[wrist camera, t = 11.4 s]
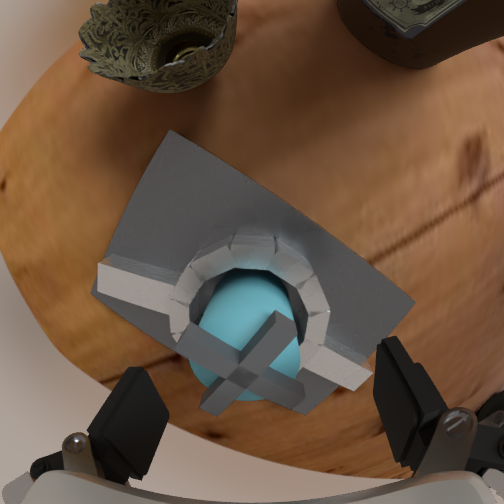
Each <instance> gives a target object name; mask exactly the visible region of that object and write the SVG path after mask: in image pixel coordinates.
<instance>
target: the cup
mask: <svg viewBox="0 0 504 504" xmlns="http://www.w3.org/2000/svg"><path fill="white" fill-rule="evenodd" d="M237 2H238V0H110V2H109V3H108V4H107V5H103V4H102V3H100V2H98V3H96V4H94V5H93V6H92V7H91V8H90V13H91V16H92V18H91V19H89V20H87V21H86V22H85V23H84V24H83V25H82V27H81V28H80V29H79V36H80V39H81V41H82V43H83V44H84V46H85V50H84V48H83V49H82V51H81V52H80V53H79V55H80V57H81V58H83V59H85V60H87V61H89V62H91V63H90V65H89V66H88V69H89V70H90V71H91V72H93V73H95V74H99V76H102V77H105V78H108V79H112V80H115V81H118V82H121V83H124V84H127V85H130V86H133V87H136V88H139V89H143V90H146V91H150V92H156V93H179V92H183V91H187V90H190V89H193V88H195V87H198V86H200V85H202V84H204V83H205V82H207V81H208V80H210V79H211V78H212V77H214V76H215V75H216V74H217V73H218V72H219V71H220V70H221V69H222V68H223V66H224V65H225V64H226V62H227V60H228V59H229V56H230V54H231V52H232V49H233V46H234V42H235V36H236V25H237Z"/></svg>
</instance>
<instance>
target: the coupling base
mask: <svg viewBox="0 0 504 504" xmlns="http://www.w3.org/2000/svg"><path fill="white" fill-rule="evenodd" d="M239 269H259V270H264V271H267V272H269V273H271V274H273V275H274V276H275V277H277V278H278V279H279V280H280V281H281V282H282V283H283V285H284V286H285V288H286V289H287V292H288V294H289V298H290V303H291V309H292V314H293V319H294V321H295V324H296V329H297V334H298V335H297V340H298V345H299V351H300V359H301V362H300V368H299V371H298V374H297V376H296V378H295V380H297V381H299V382H301V383H303V384H304V391H305V397H306V398H305V399H304V400H303V401H302V402H300V403H299V404H298V405H297V406H296V407H295V408H293V409H292V410H293V411H296V412H298V413H301V414H304V415H306V414H307V413H309V412H310V411H311V410H312V409H314V408H315V407H316V406H317V405H318V404H319V403H321V402H322V401H323V400H324V399H325V398H326V397H328V396H329V395H330V394H331V393H332V392H333V391H334V390H335V389H336V388H338V387H339V386H340V385H341V386H343V387H346V388H348V389H350V390H352V391H355V390H356V389H357V388H358V387H359V386H360V385H361V384H362V383H363V382H364V381H365V380H366V379H367V378H369V377H370V376H371V375H372V374H373V371H372V369H371V367H370V365H369V363H368V361H367V358H368V357H369V356H370V355H371V354H372V353H373V352H374V351H375V350H376V349H377V344H380V343H381V340H382V339H384V338H387V337H388V335H389V334H390V333H391V332H392V331H393V330H394V328H395V327H396V326H397V325H398V324H399V323H400V321H401V320H402V319H403V318H404V317H405V315H406V314H407V313H408V312H409V310H410V309H411V308H412V307H413V305H414V304H415V303H416V302H415V301H414V300H413V299H412V298H411V297H409V296H408V295H407V294H406V293H405V292H404V291H403V290H401V289H400V288H399V287H398V286H397V285H395V284H394V283H393V282H392V281H391V280H389V279H388V278H387V277H386V276H384V275H383V274H382V273H381V272H379V271H378V270H377V269H376V268H374V267H373V266H372V265H371V264H369V263H368V262H367V261H366V260H364V259H363V258H362V257H360V256H359V255H358V254H357V253H355V252H354V251H353V250H351V249H350V248H349V247H347V246H346V245H345V244H344V243H342V242H341V241H340V240H338V239H337V238H336V237H334V236H333V235H332V234H330V233H329V232H327V231H326V230H325V229H323V228H322V227H321V226H319V225H318V224H317V223H315V222H314V221H312V220H311V219H310V218H308V217H307V216H305V215H304V214H303V213H301V212H300V211H298V210H297V209H295V208H294V207H293V206H291V205H290V204H288V203H287V202H285V201H284V200H283V199H281V198H280V197H278V196H277V195H275V194H274V193H272V192H271V191H269V190H268V189H266V188H265V187H263V186H262V185H260V184H259V183H257V182H256V181H254V180H253V179H251V178H250V177H248V176H247V175H245V174H244V173H242V172H240V171H239V170H237V169H236V168H234V167H233V166H231V165H229V164H228V163H226V162H225V161H223V160H222V159H220V158H218V157H217V156H215V155H213V154H212V153H210V152H209V151H207V150H205V149H204V148H202V147H200V146H199V145H197V144H195V143H194V142H192V141H190V140H189V139H187V138H185V137H184V136H182V135H180V134H178V133H177V132H174V131H172V130H169V131H168V133H167V135H166V136H165V138H164V140H163V141H162V143H161V144H160V146H159V148H158V149H157V151H156V153H155V155H154V156H153V158H152V160H151V161H150V163H149V165H148V167H147V169H146V170H145V172H144V174H143V176H142V178H141V180H140V181H139V183H138V185H137V187H136V189H135V191H134V193H133V195H132V197H131V199H130V201H129V203H128V205H127V207H126V209H125V211H124V213H123V215H122V217H121V220H120V222H119V224H118V226H117V228H116V230H115V233H114V235H113V237H112V240H111V242H110V244H109V247H108V249H107V251H106V254H105V256H104V259H103V260H102V261H100V262H98V274H97V277H96V280H95V282H94V285H93V288H92V291H91V294H92V295H93V296H94V297H96V298H97V299H98V300H100V301H101V302H102V303H104V304H105V305H106V306H108V307H109V308H110V309H112V310H113V311H114V312H116V313H117V314H118V315H120V316H121V317H123V318H124V319H126V320H127V321H128V322H130V323H131V324H133V325H134V326H136V327H137V328H139V329H140V330H142V331H143V332H145V333H146V334H148V335H149V336H151V337H152V338H154V339H155V340H157V341H158V342H160V343H162V344H163V345H165V346H166V347H168V348H170V349H171V350H173V351H175V350H174V348H175V346H176V344H177V342H178V340H179V338H180V336H181V335H182V333H183V332H184V330H185V329H186V327H187V326H188V324H189V323H190V321H191V322H192V323H194V324H196V325H197V326H199V323H200V321H201V319H202V317H203V314H204V312H205V310H206V307H207V305H208V303H209V301H210V298H211V296H212V294H213V292H214V289H215V287H216V286H217V284H218V283H219V282H220V280H221V279H222V278H223V277H225V276H226V275H228V274H229V273H231V272H233V271H236V270H239ZM175 352H176V353H178V354H180V353H179V352H177V351H175ZM180 355H181V356H183V357H185V356H184V355H182V354H180ZM185 358H187V357H185ZM187 359H188V360H189V358H187Z"/></svg>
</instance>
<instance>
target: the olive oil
mask: <svg viewBox="0 0 504 504" xmlns="http://www.w3.org/2000/svg"><path fill="white" fill-rule="evenodd" d="M337 6H338V10H339V13H340V15H341V17H342V19H343V21H344V23H345V24H346V26H347V27H348V28H349V30H350V31H351V32H352V33H353V34H354V35H355V36H356V37H357V38H358V39H359V40H360V41H361V42H362V43H363V44H364V45H365V46H367V47H368V48H369V49H371V50H372V51H373V52H375V53H376V54H378V55H380V56H381V57H383V58H385V59H387V60H389V61H391V62H393V63H395V64H398V65H401V66H404V67H408V68H415V69H422V68H428V67H431V66H433V65H436V64H438V63H440V62H442V61H444V60H446V59H448V58H450V57H452V56H454V55H457V54H459V53H461V52H463V51H465V50H468V49H470V48H472V47H475V46H478V45H480V44H483V43H485V42H488V41H491V40H494V39H497V38H499V37H502V36H504V0H337Z"/></svg>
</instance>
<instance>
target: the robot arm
mask: <svg viewBox="0 0 504 504" xmlns="http://www.w3.org/2000/svg"><path fill="white" fill-rule="evenodd" d="M373 397H374V400H375V403H376V406H377V409H378V411H379V414H380V417H381V420H382V423H383V426H384V429H385V432H386V435H387V438H388V441H389V444H390V447H391V450H392V453H393V456H394V459H395V462H396V463H398V462H400V463H401V466H402V468H403V467H406V466H409V465H410V468H411V470H412V471H414V472H413V474H412V476H411V478H409V479H405V480H401V481H398V482H394V483H390V484H386V485H382V486H379V487H375V488H371V489H367V490H363V491H358V492H353V493H348V494H343V495H337V496H332V497H325V498H319V499H311V500H302V501H292V502H291V501H290V502H275V503H233V502H232V503H231V502H216V501H205V500H196V499H189V498H182V497H175V496H169V495H164V494H159V493H154V492H150V491H146V490H141V489H137V488H133V487H131V486H130V484H129V481H128V479H129V476H130V477H131V478H133V479H138V480H141V481H142V478H143V476H144V475H146V474H147V472H148V470H149V467H150V464H151V462H152V460H153V457H154V455H155V452H156V449H157V447H158V445H159V442H160V439H161V437H162V435H163V432H164V430H165V427H166V425H167V422H168V420H169V411H168V409H167V408H166V406H165V404H164V402H163V401H162V399H161V397H160V395H159V393H158V392H157V390H156V388H155V386H154V384H153V382H152V380H151V378H150V376H149V374H148V373H147V371H146V370H144V369H143V368H142V367H129V368H128V369H127V370H126V371H125V373H124V374H123V376H122V377H121V379H120V380H119V382H118V383H117V385H116V386H115V388H114V389H113V391H112V392H111V394H110V395H109V397H108V398H107V400H106V401H105V403H104V404H103V406H102V407H101V409H100V410H99V412H98V413H97V415H96V416H95V418H94V419H93V421H92V423H91V424H90V426H89V427H88V429H87V431H88V433H89V435H88V436H87V435H85V434H84V433H82V432H76V433H73V434H71V435H69V436H68V437H66V439H65V440H64V441H63V444H62V451H59V452H56V453H54V454H51V455H48V456H45V457H42V458H39V459H37V460H36V461H35V462H34V463H33V464H32V466H31V468H30V473H29V472H28V471H27V472H26V473H24V474H23V475H21V476H20V477H18V478H16V479H15V480H14V481H12V482H10V483H9V484H7V485H6V486H5V487H4V488H3V490H2V496H3V499H4V502H5V504H497V502H496V500H495V498H494V496H493V494H492V492H491V490H490V488H493V489H494V490H496V491H497V493H496V494H497V495H499V496H501V497H502V498H503V499H504V429H503V428H498V427H492V426H487V425H482V424H477V423H478V421H477V417H476V415H475V414H474V413H473V412H472V411H471V410H469V409H467V408H464V407H456V408H452V409H450V410H449V408H448V407H447V405H446V403H445V402H444V400H443V398H442V397H441V395H440V393H439V392H438V390H437V388H436V387H435V385H434V383H433V382H432V380H431V379H430V377H429V375H428V374H427V372H426V371H425V369H424V367H423V366H422V365H421V364H420V363H415V364H414V363H413V361H412V359H411V358H410V356H409V355H408V353H407V352H406V350H405V348H404V347H403V345H402V344H401V342H400V341H399V339H398V338H397V336H392V337H388V338H384V339H382V340H381V343H380V344H377V351H376V366H375V377H374V387H373Z"/></svg>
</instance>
